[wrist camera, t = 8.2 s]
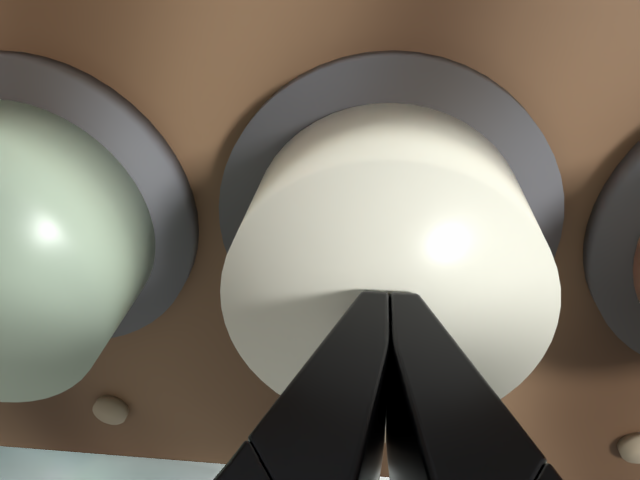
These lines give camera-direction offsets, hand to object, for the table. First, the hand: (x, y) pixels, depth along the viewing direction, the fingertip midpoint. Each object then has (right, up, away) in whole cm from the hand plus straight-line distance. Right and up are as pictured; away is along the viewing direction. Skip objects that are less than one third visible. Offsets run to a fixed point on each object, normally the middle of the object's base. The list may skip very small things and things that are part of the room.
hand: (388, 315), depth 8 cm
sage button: (-7, +1, +3) cm, 7 cm away
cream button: (0, +1, +2) cm, 2 cm away
